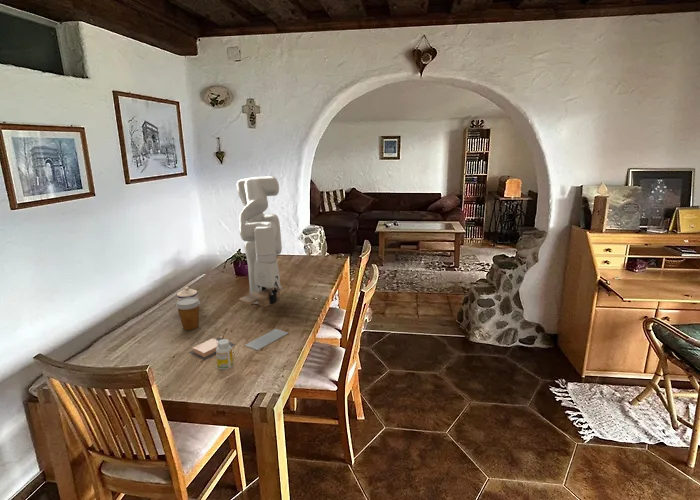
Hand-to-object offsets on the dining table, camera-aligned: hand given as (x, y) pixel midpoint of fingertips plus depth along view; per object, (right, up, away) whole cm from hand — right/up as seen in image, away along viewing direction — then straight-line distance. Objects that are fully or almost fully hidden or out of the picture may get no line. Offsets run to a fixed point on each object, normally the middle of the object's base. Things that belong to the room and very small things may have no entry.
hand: (269, 301), depth 162 cm
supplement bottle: (-12, -21, -17) cm, 29 cm away
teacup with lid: (-43, -8, +31) cm, 54 cm away
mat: (-21, -18, -5) cm, 28 cm away
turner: (-3, -1, -3) cm, 4 cm away
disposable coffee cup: (-36, -13, +14) cm, 41 cm away
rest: (-1, -16, +2) cm, 16 cm away
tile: (-19, -16, -3) cm, 25 cm away
